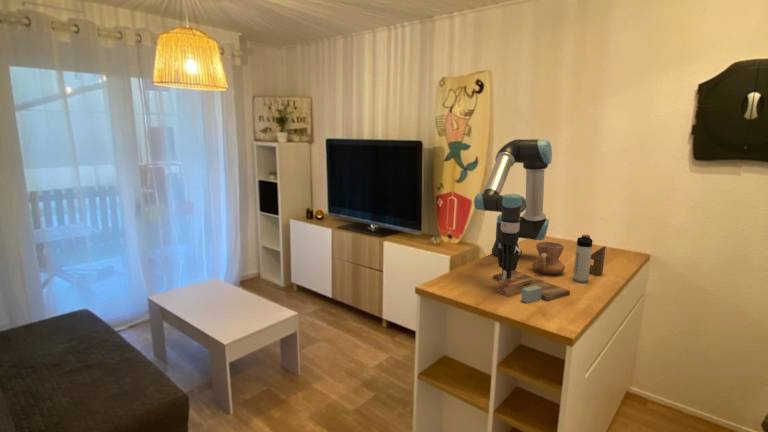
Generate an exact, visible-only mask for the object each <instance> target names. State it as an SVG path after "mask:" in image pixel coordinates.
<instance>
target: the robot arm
mask: <svg viewBox="0 0 768 432" xmlns="http://www.w3.org/2000/svg"><path fill="white" fill-rule="evenodd" d="M552 151H553V150H552V145H551V142H550V140H548V139H536V138H535V139H533V138H532V139H527V138H526V139H522V138H521V139H520V138H517V139H514V140H511V141H508V142H507V143H505V144H504V145H503V146H502V147H501V148H500V149H499V150H498V152H497V153H496V154H495V159H494V160H495V163H494V165H493V168H492V170H491V173H490V175H489V178H488V180H487V182H486V184H485V187H484V189H483V192H482V193H481V192H480V193H476V195H475V196H474V200H473V206H474V208H475V209H476V210H478V211H483V212H485V211H486V212H493V213H494V212H496V213H500V214H498V215H497V219H496V224H495V225H496V228H495V230H496V231H495V240H494V243H493V247H492V248H491V255H493V256H495V257H497V261H498V267H499V268H501V273H502V276H503V279H509V278H511V271H514V270H515V271H517V270H516V269H517V266H518V264H519V260H520V256H521V255H522V253H523V250H520V248H519V243H518V242H519V239H525V240H534V241H544V240H545V238H546V236H547V233H548V228H549V222H550V220H549V218H547V217H546V213H544V195H545V194H544V193H545V192H544V191H545V190H544V188H545V187H544V186H545V170H546V169H547V168H548V167H549V165H551V163H552V162H553V161H552V159H553V152H552ZM518 163H519V164H523V165H522V167H523V168H524V170H525V172H526V174H525V197H524V196H523V195H521V194H516V193H505V194H504V195H501V193H502V190H503V187H504V185H505V183H506V180H507V177H508V174H509V172H510V169H511V168H512V167H513V166H515V165H514V164H518ZM522 213H523V214H522ZM521 214H522V216H521Z"/></svg>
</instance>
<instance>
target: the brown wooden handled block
mask: <svg viewBox="0 0 768 432" xmlns="http://www.w3.org/2000/svg"><path fill="white" fill-rule="evenodd" d="M531 282H532V279H526V280H522V281H520V280H518V279H515V278H513V277H512V278H509V279H503V280H499V281H498V285H497V286H498V289H497V292H498V291H500V292H502V293H504V294H506V295H508V296H507V297H513V296H516V294H517V295H520V294H521V295H522V289H523V284H527V283H531ZM500 292H499V293H500ZM502 293H501V294H502ZM504 294H503V295H504ZM506 295H505V296H506ZM512 295H513V296H512Z"/></svg>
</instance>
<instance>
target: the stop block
mask: <svg viewBox="0 0 768 432" xmlns="http://www.w3.org/2000/svg"><path fill="white" fill-rule="evenodd" d="M541 294H542V288H541V287H539V286H536V285H535V286H531V287H527V288H523V289H522V293H521V299H520V301H521V302H523V301H524V303H526V304H530V303H533V302H537V301H540V300H542V299H541Z"/></svg>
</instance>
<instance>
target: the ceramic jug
mask: <svg viewBox="0 0 768 432" xmlns="http://www.w3.org/2000/svg"><path fill="white" fill-rule="evenodd" d="M535 246H536V251H537V253H538V256H539V257H538V258H537V259H535V260H534V261H533V262H532V268H533V269H534V270H535V271H536V272H537V273H541V274H544V275H550V276H551V275H552V276H553V275H554V276H555V275H559V274H562V273H563V272H564V271H565V270H566V269H565V266H566V265H565V264H564V263H563V262H562V261H561V260H559V258H560V257H561V255H562V253H563V251H564V247H565V245H564V244H563V243H561V242H558V241H557V242H555V241H553V240H541V241H538V242H536V245H535Z"/></svg>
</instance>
